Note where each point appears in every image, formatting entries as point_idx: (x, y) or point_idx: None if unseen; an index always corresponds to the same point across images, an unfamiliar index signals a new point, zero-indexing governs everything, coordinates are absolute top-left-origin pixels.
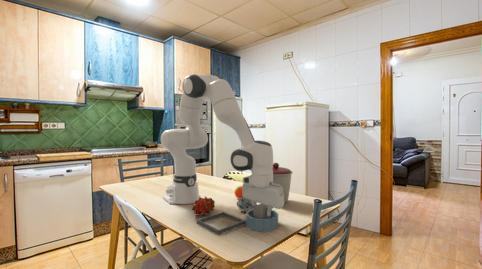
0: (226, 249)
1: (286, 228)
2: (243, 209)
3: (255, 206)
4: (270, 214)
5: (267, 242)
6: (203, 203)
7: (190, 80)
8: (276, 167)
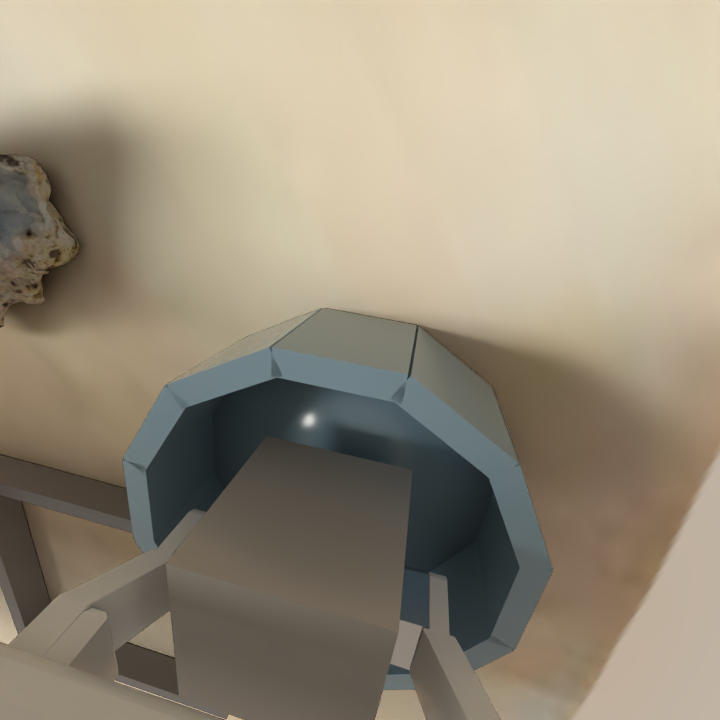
0: None
1: (618, 424)
2: None
3: (210, 702)
4: (446, 588)
5: (549, 684)
6: None
7: None
8: None
